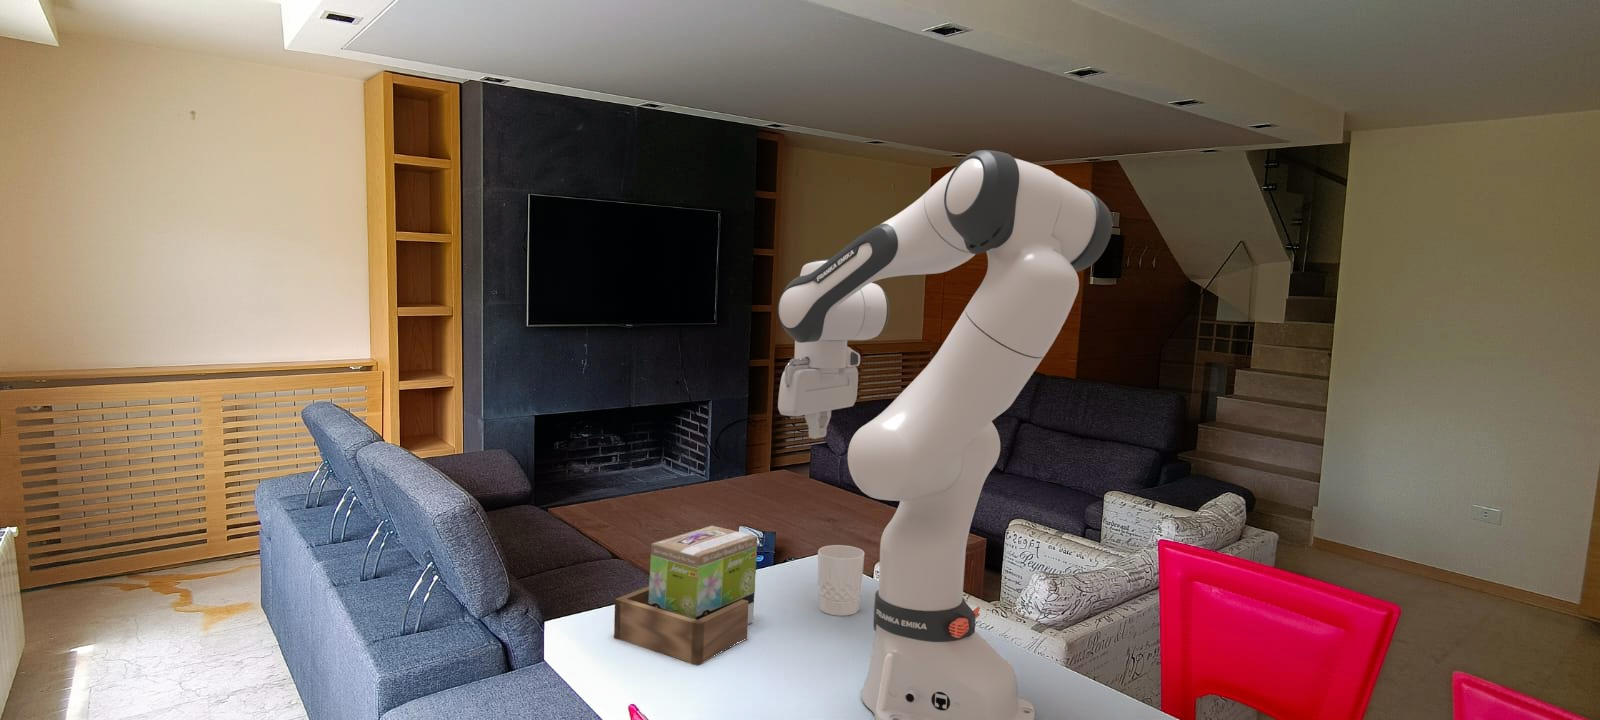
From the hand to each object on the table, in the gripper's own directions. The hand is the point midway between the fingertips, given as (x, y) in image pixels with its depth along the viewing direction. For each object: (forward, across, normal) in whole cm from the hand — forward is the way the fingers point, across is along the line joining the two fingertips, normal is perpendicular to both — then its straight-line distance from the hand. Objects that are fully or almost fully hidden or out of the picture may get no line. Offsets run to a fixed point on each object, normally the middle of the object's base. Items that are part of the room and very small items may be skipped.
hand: (817, 437), depth 148 cm
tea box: (+29, -20, +8) cm, 36 cm away
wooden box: (+29, -25, +8) cm, 39 cm away
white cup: (+29, +1, -5) cm, 30 cm away
